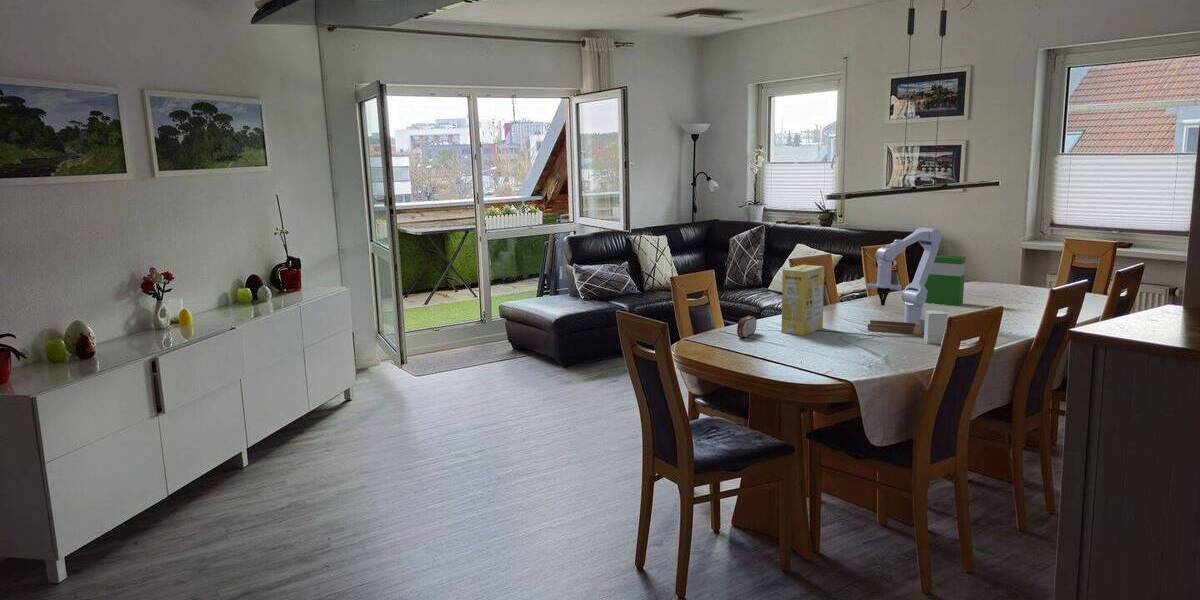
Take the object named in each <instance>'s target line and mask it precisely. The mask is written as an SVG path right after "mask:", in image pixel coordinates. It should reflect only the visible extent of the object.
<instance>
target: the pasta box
mask: <svg viewBox="0 0 1200 600" xmlns="http://www.w3.org/2000/svg"><path fill="white" fill-rule="evenodd" d="M781 283H782V284H781V285H782V287H781V292H782V293H781V333H783V332H785V333H786V334H790V333H792V334H791V335H797V334H799V335H798V336H805V335H808V334H810V332H811V333H813V332H815V331H818V329H819V330H820V329H823V325H824V296H825V295H824V292H825V291H824V290H825V266H824V265H811V264H800V265H797V266H795V265H794V266H792V267H789V268H784V269H782V281H781ZM785 333H784V334H785Z"/></svg>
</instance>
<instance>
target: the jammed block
mask: <svg viewBox="0 0 1200 600" xmlns="http://www.w3.org/2000/svg"><path fill="white" fill-rule="evenodd" d="M919 327H922V329H921V334H922V335H924V327H925V316H921V318H920V326H919Z"/></svg>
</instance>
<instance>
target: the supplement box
mask: <svg viewBox="0 0 1200 600" xmlns="http://www.w3.org/2000/svg"><path fill="white" fill-rule="evenodd" d="M924 317H925V327H924V334H923V341H925V343H927V344H933V345H934V344H935V345H936V344H937V345H939V344H941V341H942V338H943V334H944V331H945V326H946V319H947V320H948V313H947V312H946V311H944V310H938V309H937V310H936V309H935V310H931V309H930V310H925V313H924ZM941 345H942V344H941Z"/></svg>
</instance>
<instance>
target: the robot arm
mask: <svg viewBox="0 0 1200 600" xmlns="http://www.w3.org/2000/svg"><path fill="white" fill-rule="evenodd" d="M942 239H943V235H942V233H941V230H940V229H938V228H932V227H931V228H929V227H923V226H920V227H918V228H916V229H915V230H914V232H912V233H911V234H909V235H908V236H906V237H904V238H903V239H894V240H893V242H892V243H889V244H886V245H885V246H884V247H883V246H882V247H879V248H878V249H877V250H876V252H875V254H874V256H875V259H876V263H877V276H876V277H877V279H876V283H866V285H865V287H866V289H871V290H872V289H873V290H876V292H877V295H878V298H879V300H880V301H879V302H880V306H883V307H885V306H886V301H887V297H888V295H889V293H890V291H891V290H895V291H896V290H897V291H902V285H901V284H892V267H893V265H892V263H893V261H894V260H895V258H896V257H897V256H898V255H900V254H902V253H904V252H905V251H906V249H907V247H908V246H911V245H913V244H914V243H916V242H918V243H919V244H920V245H921V247H922V248H923V250H924V251H923V253H922V256H921V258H920V260H919V263H918V266H917V269H916V271H915V274H914V277H913V279H912V282H910V283H908V284H907V285H906V287H905V288H904V289H903V291H902V293H901V300H902V302H903V304H904V319H903V322H909V323H920V318H921V317H922V315H923V311H922V310H923V306H924V304H926V303H925V301H926V295H927V292H928V291H927V289H926V288H925V283H926V281H927V278H928V276H929V273H930V270H931V268H932V265H933V262H934V260H935V257H936V255H938V252H939V249H940V248H939V247H940V243H941V240H942Z"/></svg>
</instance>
